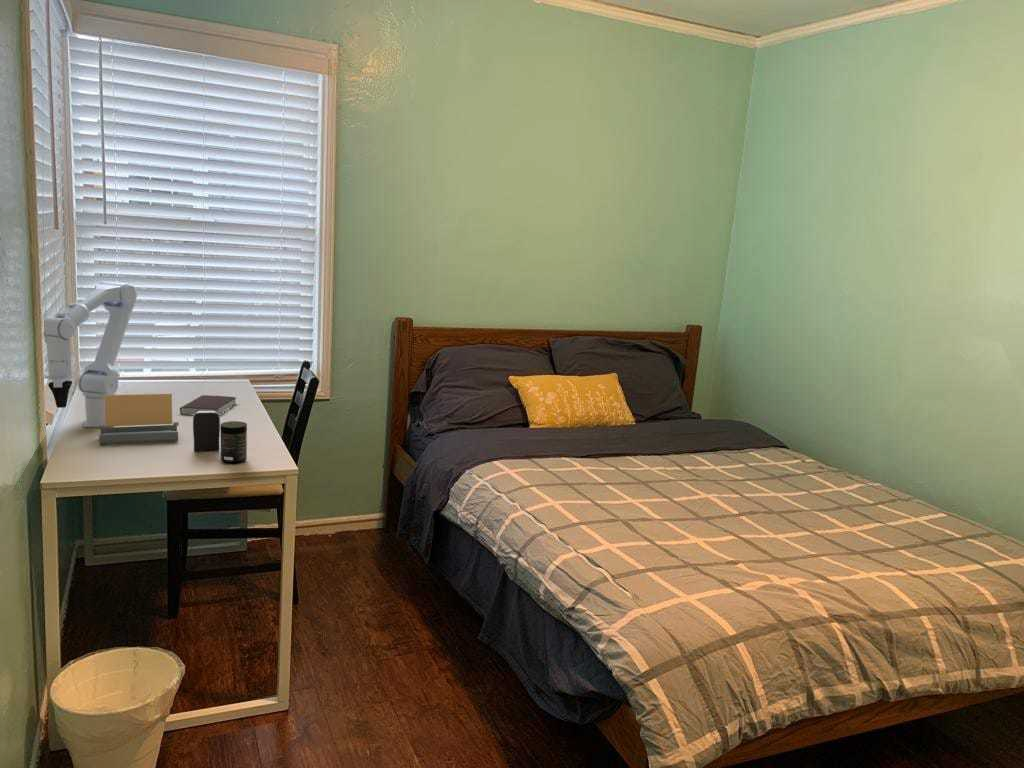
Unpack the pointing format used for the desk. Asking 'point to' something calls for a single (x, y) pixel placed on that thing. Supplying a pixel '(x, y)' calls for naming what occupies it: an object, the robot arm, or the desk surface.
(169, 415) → the cover
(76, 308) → the robot arm
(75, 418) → the desk surface
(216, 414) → the battery charger
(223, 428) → the supplement container
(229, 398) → the book
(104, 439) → the grey tray with rod
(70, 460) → the desk surface
